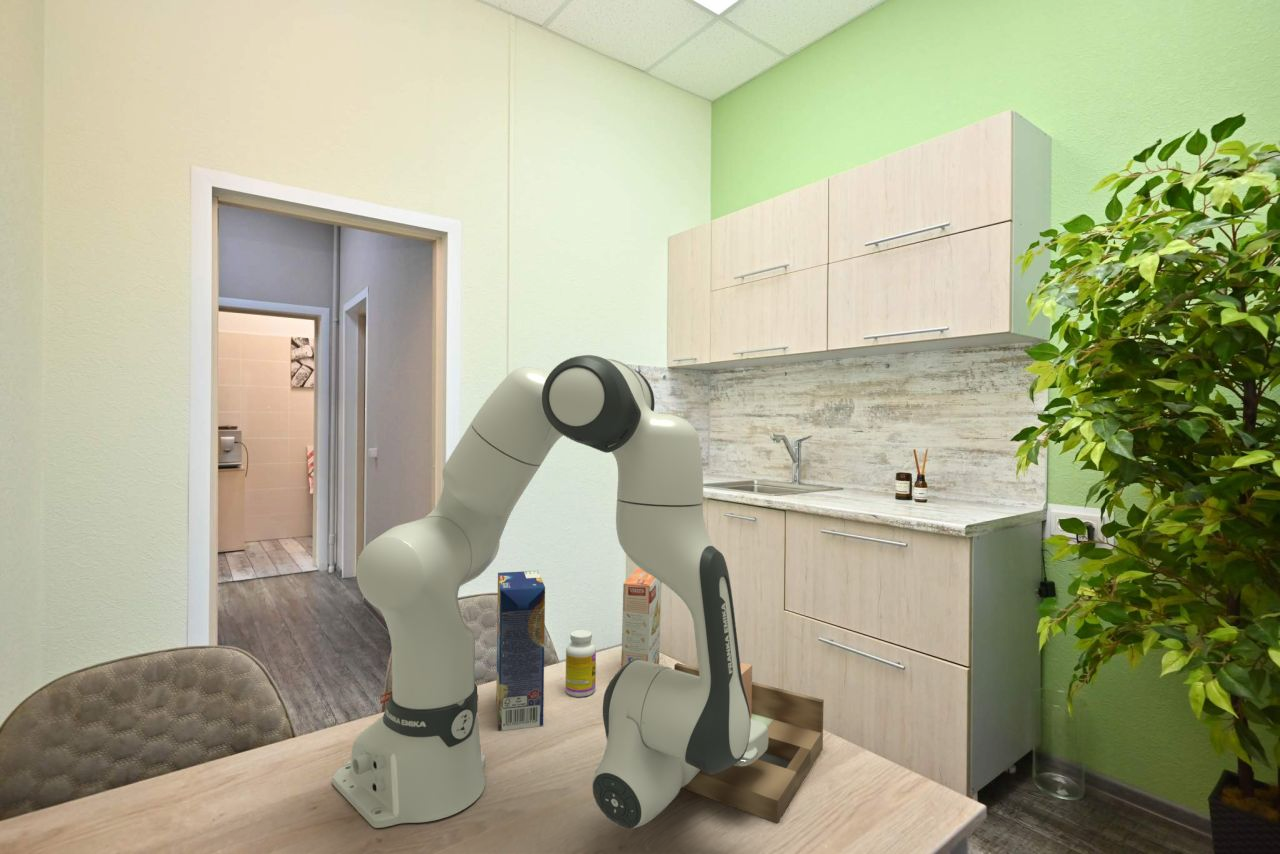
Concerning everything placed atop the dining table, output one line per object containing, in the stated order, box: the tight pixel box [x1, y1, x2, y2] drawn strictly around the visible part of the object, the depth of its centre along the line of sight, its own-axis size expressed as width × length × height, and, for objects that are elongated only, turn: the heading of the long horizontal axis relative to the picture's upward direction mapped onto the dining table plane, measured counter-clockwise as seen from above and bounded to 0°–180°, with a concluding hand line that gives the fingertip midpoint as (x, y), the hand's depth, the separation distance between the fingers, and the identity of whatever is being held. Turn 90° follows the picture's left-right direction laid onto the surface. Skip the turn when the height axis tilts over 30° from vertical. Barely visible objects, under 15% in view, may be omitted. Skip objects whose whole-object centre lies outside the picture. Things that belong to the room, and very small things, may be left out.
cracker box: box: [620, 567, 662, 669], centre depth 127 cm, size 14×6×21 cm, turn 168°
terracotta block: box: [740, 661, 753, 719], centre depth 100 cm, size 6×6×10 cm
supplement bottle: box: [564, 629, 597, 698], centre depth 119 cm, size 6×6×11 cm
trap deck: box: [673, 662, 825, 824], centre depth 98 cm, size 27×22×8 cm
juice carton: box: [495, 570, 546, 732], centre depth 110 cm, size 12×8×24 cm, turn 15°
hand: (719, 704), depth 97 cm, fingers closed
